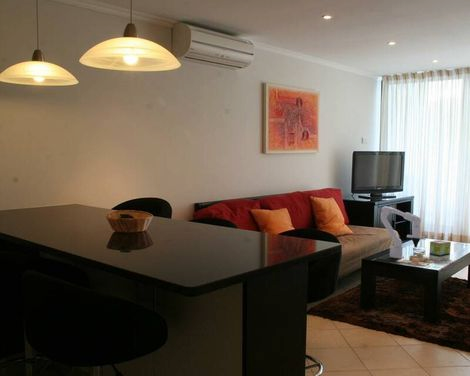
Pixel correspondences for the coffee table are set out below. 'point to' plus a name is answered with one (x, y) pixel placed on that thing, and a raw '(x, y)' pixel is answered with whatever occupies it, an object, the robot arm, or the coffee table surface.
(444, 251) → the tea box
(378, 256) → the coffee table surface
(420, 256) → the tall block middle
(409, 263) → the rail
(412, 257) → the short block left
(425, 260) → the short block right
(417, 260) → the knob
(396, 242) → the robot arm
